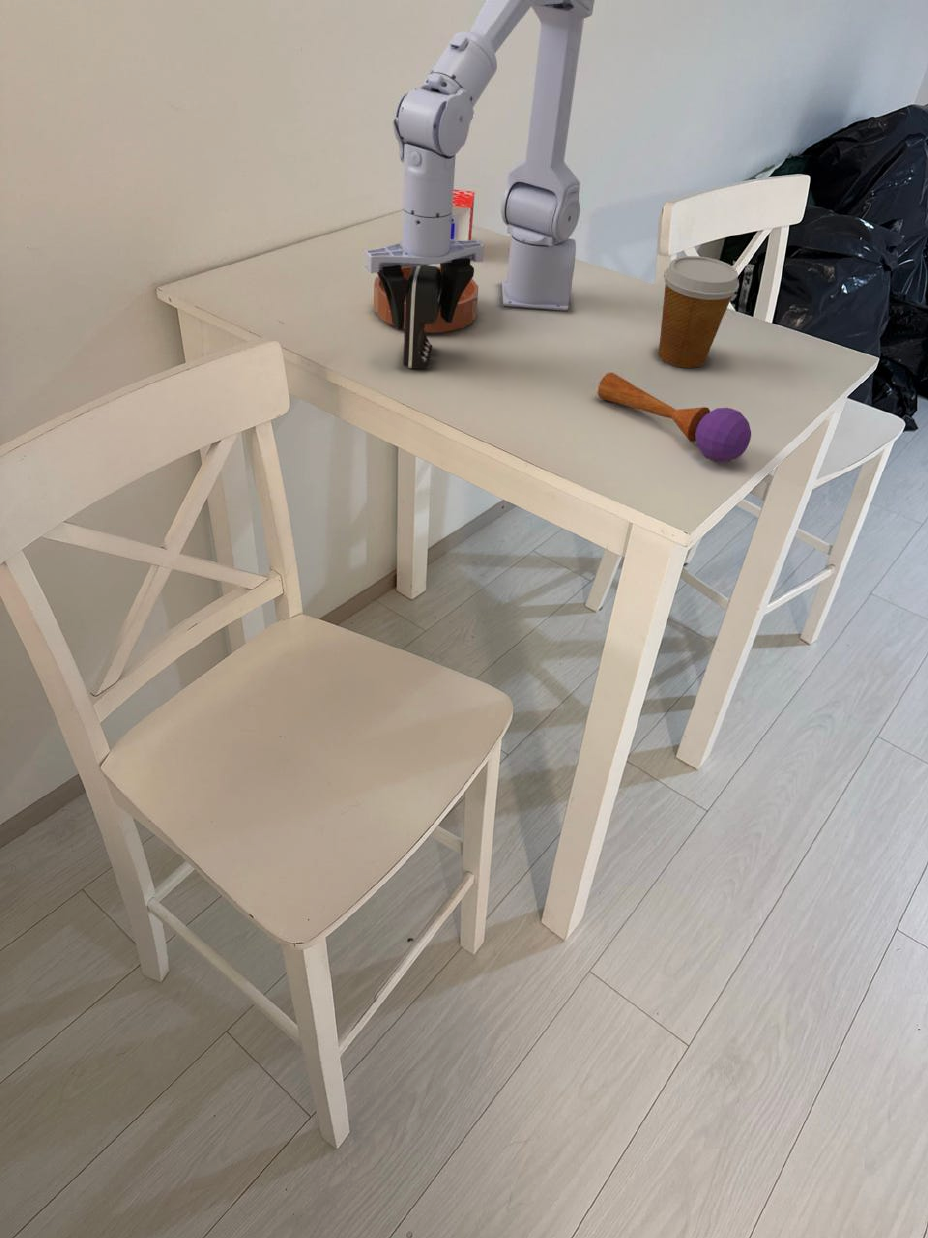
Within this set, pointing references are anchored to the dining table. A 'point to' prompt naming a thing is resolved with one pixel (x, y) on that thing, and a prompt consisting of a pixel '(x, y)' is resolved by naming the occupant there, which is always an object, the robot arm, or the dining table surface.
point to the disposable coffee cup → (694, 308)
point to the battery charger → (420, 313)
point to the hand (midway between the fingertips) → (422, 322)
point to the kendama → (687, 419)
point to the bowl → (461, 316)
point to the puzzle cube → (462, 215)
